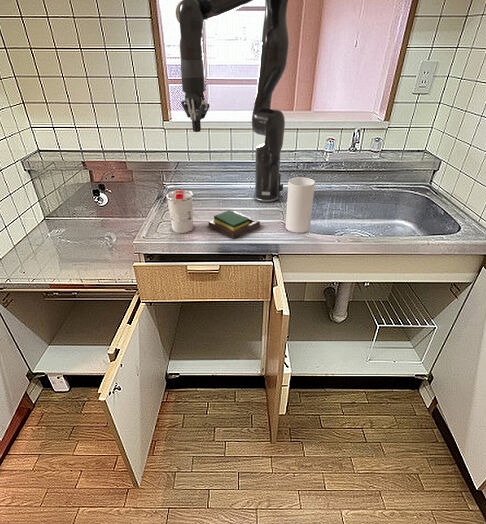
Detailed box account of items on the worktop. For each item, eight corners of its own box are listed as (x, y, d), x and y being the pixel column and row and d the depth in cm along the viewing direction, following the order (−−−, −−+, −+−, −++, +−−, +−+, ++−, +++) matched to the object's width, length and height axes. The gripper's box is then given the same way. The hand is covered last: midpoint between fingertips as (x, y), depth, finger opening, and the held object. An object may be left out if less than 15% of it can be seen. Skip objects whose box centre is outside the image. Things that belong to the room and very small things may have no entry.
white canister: (190, 236, 115) (186, 201, 108) (165, 233, 116) (161, 199, 110) (199, 223, 123) (196, 190, 117) (176, 221, 124) (172, 188, 118)
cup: (309, 233, 115) (315, 186, 107) (284, 231, 117) (287, 185, 108) (310, 222, 122) (315, 177, 114) (286, 221, 124) (289, 176, 115)
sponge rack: (235, 216, 127) (234, 211, 126) (259, 226, 120) (259, 221, 119) (208, 227, 120) (208, 221, 119) (233, 239, 113) (233, 233, 112)
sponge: (229, 218, 126) (229, 210, 124) (249, 227, 119) (249, 218, 118) (214, 225, 122) (213, 215, 120) (233, 234, 115) (233, 225, 114)
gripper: (215, 75, 112) (217, 132, 121) (189, 73, 120) (193, 127, 129) (196, 77, 108) (200, 136, 117) (171, 75, 116) (176, 130, 125)
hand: (196, 131), depth 123 cm, fingers closed
